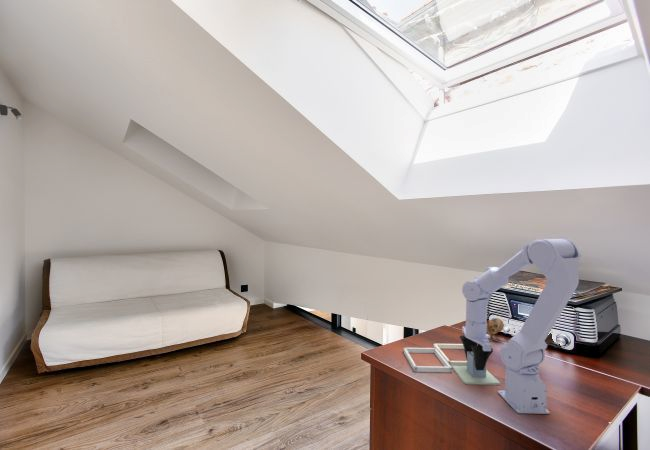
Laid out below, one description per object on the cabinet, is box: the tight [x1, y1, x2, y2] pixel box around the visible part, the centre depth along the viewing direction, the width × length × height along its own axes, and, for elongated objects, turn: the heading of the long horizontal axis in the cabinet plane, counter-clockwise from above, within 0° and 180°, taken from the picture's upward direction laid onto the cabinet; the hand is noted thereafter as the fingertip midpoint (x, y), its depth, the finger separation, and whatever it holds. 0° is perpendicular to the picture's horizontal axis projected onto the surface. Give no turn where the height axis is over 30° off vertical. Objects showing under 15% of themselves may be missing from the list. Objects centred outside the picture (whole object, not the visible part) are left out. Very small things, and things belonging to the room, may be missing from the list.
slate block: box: [466, 351, 487, 377], centre depth 96 cm, size 4×4×6 cm
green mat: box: [452, 366, 501, 386], centre depth 96 cm, size 10×10×1 cm
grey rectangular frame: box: [402, 347, 453, 374], centre depth 105 cm, size 15×12×2 cm
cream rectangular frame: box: [432, 343, 467, 367], centre depth 109 cm, size 15×12×2 cm
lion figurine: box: [486, 317, 505, 342], centre depth 127 cm, size 15×5×9 cm, turn 37°
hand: (474, 364), depth 96 cm, fingers open, 6 cm apart
